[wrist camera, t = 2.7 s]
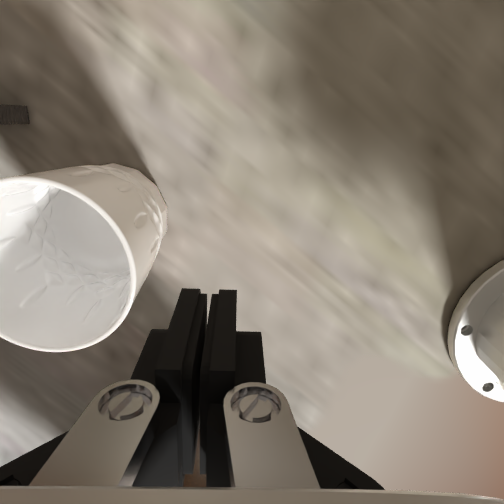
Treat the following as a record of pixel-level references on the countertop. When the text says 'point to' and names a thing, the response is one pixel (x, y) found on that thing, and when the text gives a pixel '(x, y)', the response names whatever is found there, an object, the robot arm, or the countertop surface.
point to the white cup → (75, 252)
